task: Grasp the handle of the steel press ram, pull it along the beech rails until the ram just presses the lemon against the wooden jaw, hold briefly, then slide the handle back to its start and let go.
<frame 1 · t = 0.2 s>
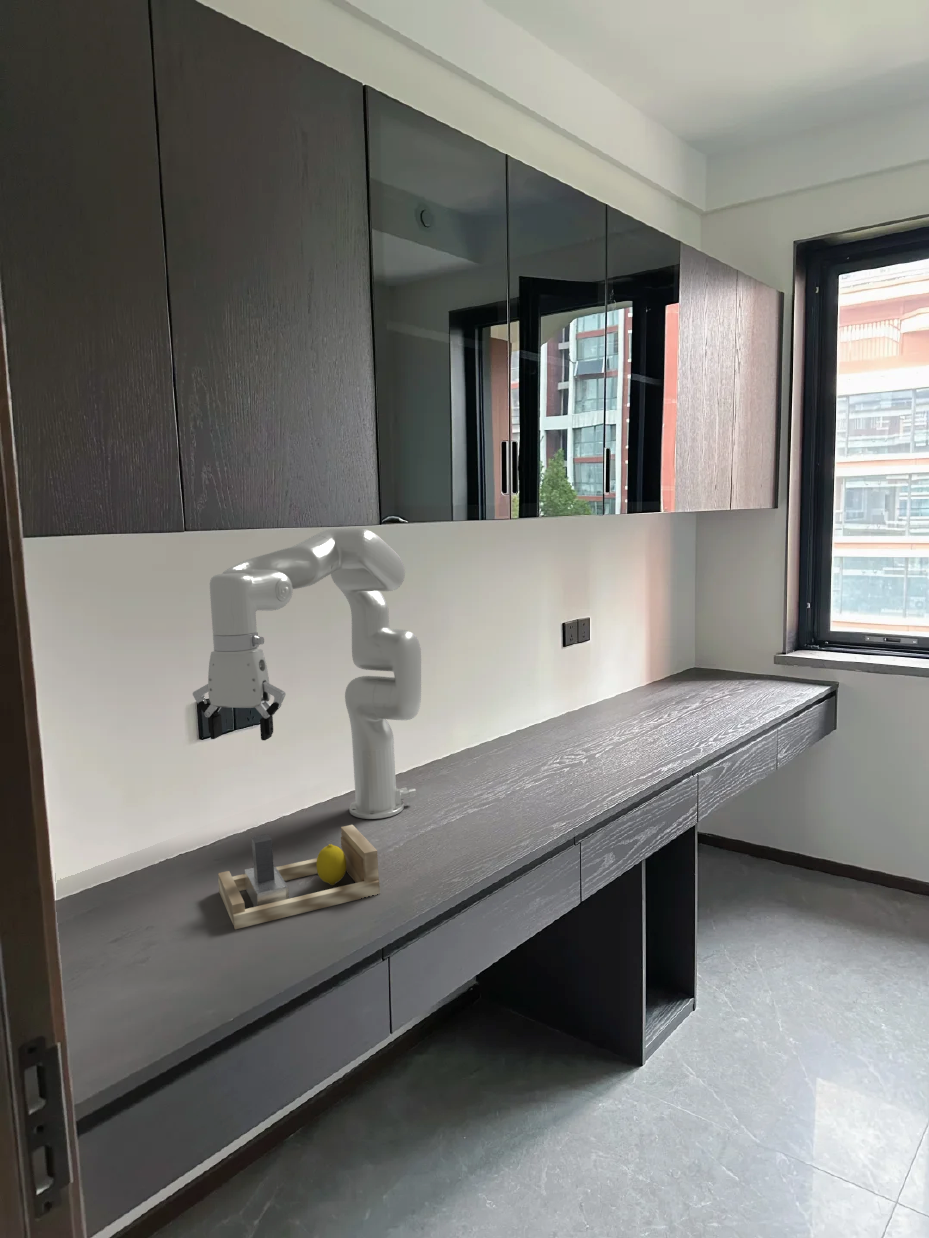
hand: (241, 737, 151), 30 cm above the table, tool pointing down, fingers open, 9 cm apart
ram: (265, 868, 152), point 6 cm above the table, slide at 0.0 cm
press frame: (298, 892, 156), on the table
lemon: (332, 885, 158), resting in press frame
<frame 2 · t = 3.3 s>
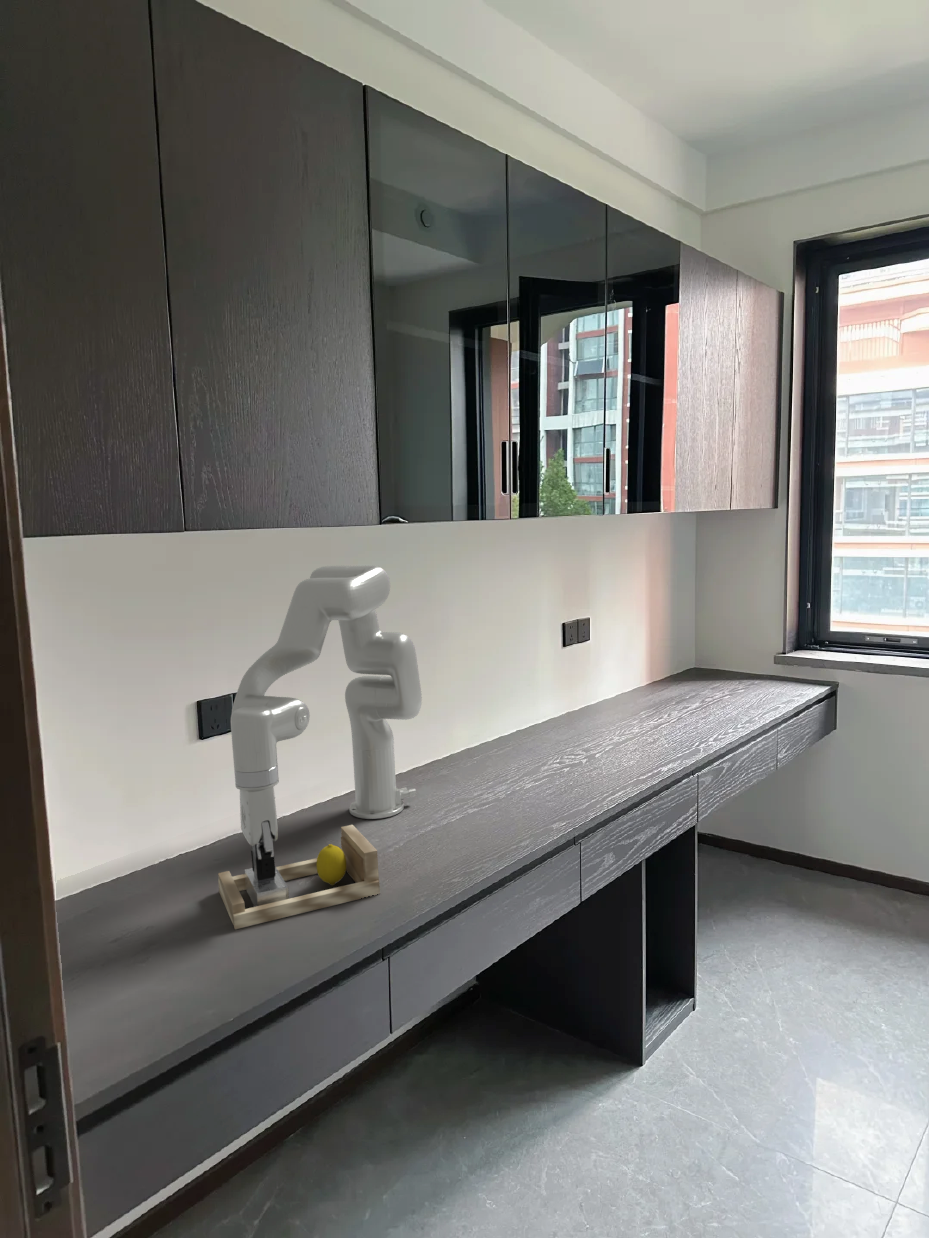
hand: (264, 873, 152), 5 cm above the table, tool pointing down, fingers closed on ram, 3 cm apart
ram: (265, 868, 152), point 6 cm above the table, slide at 0.0 cm, touching gripper
everything else where it was.
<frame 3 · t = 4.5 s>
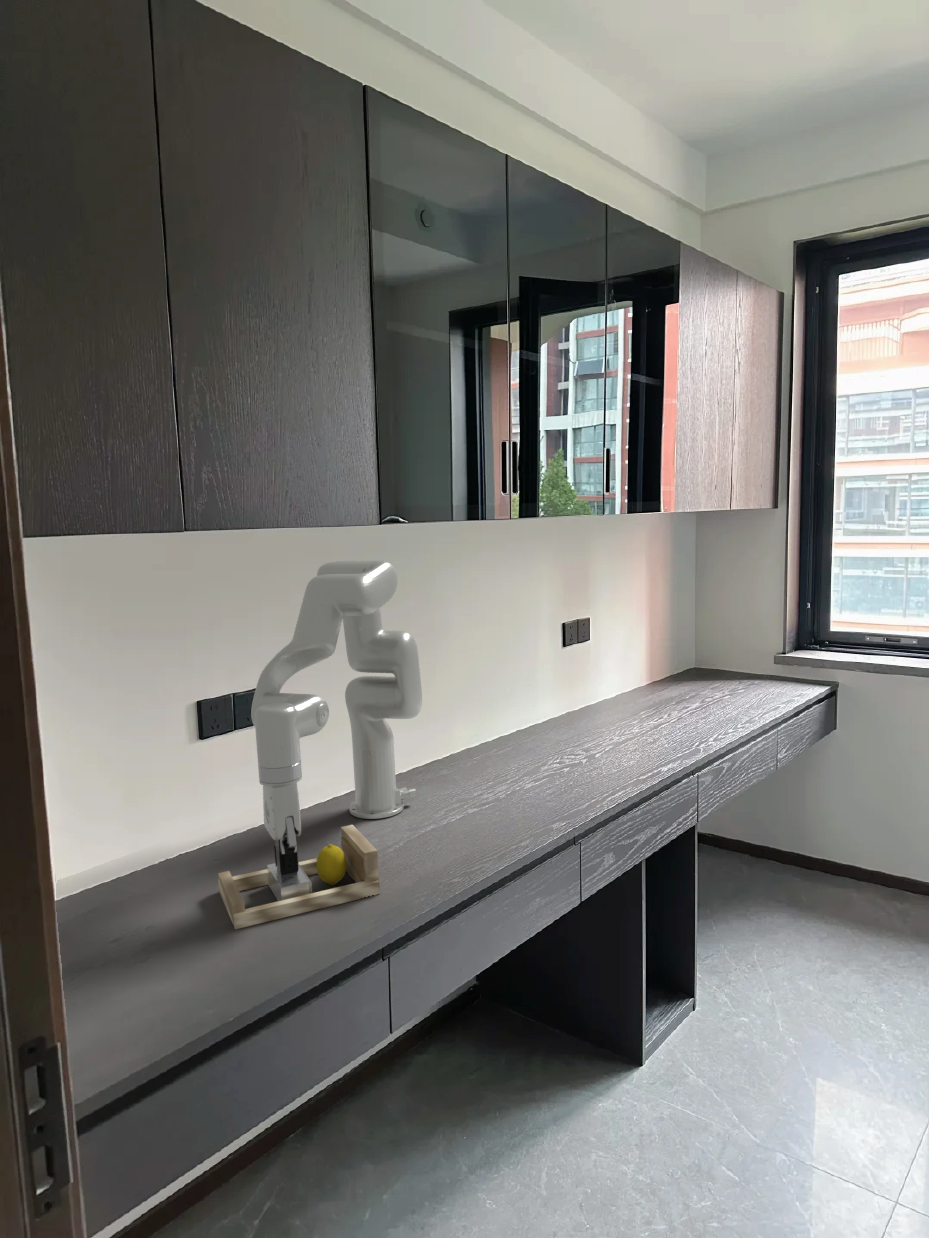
hand: (287, 868, 154), 5 cm above the table, tool pointing down, fingers closed on ram, 3 cm apart
ram: (288, 863, 154), point 6 cm above the table, slide at 4.2 cm, touching gripper
everything else where it was.
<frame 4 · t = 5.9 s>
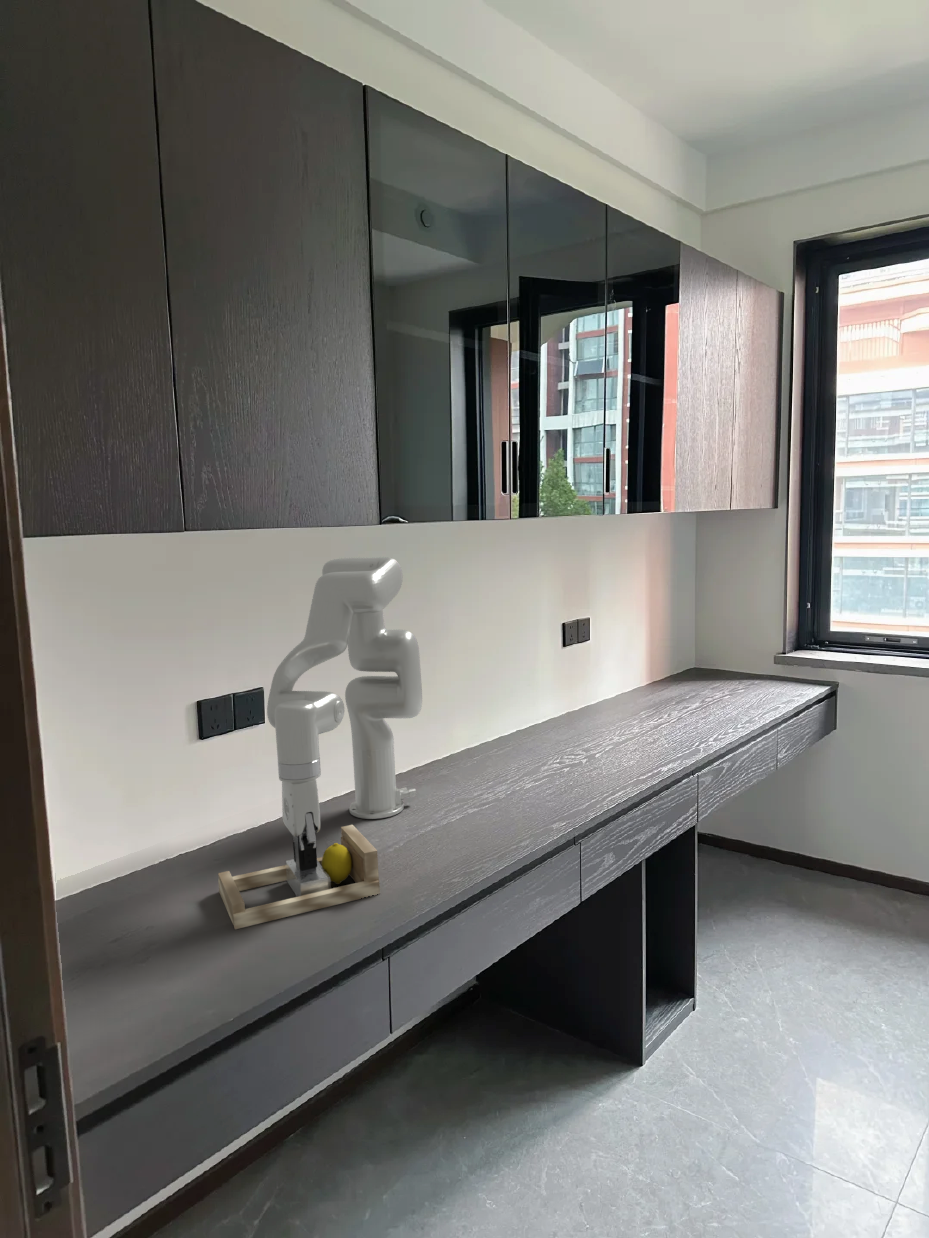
hand: (305, 863, 156), 5 cm above the table, tool pointing down, fingers closed on ram, 3 cm apart
ram: (307, 859, 156), point 6 cm above the table, slide at 7.7 cm, touching gripper, lemon
lemon: (338, 884, 159), resting in press frame, touching ram
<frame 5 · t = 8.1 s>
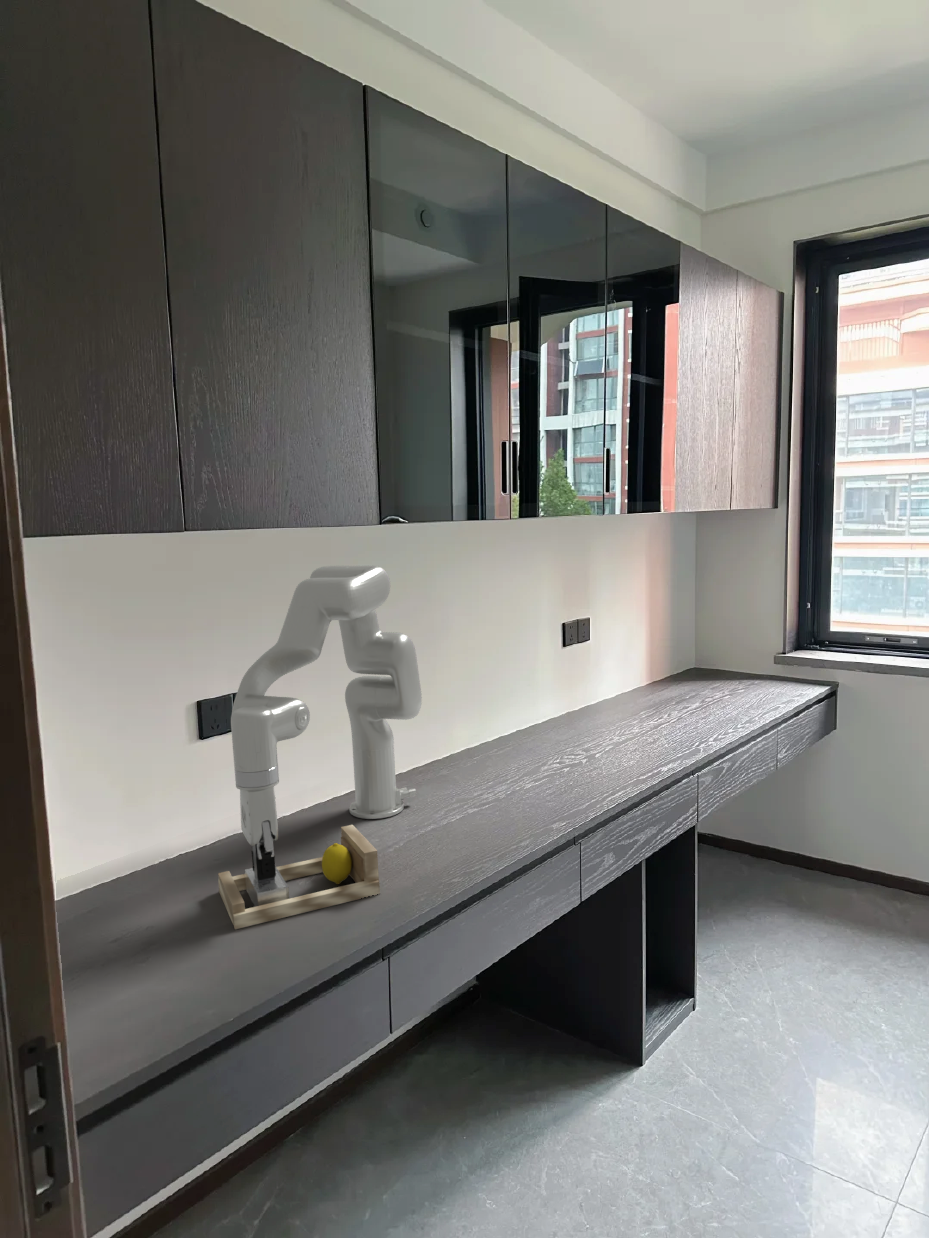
hand: (264, 873, 152), 5 cm above the table, tool pointing down, fingers closed on ram, 3 cm apart
ram: (265, 868, 152), point 6 cm above the table, slide at 0.1 cm, touching gripper
lemon: (338, 884, 159), resting in press frame
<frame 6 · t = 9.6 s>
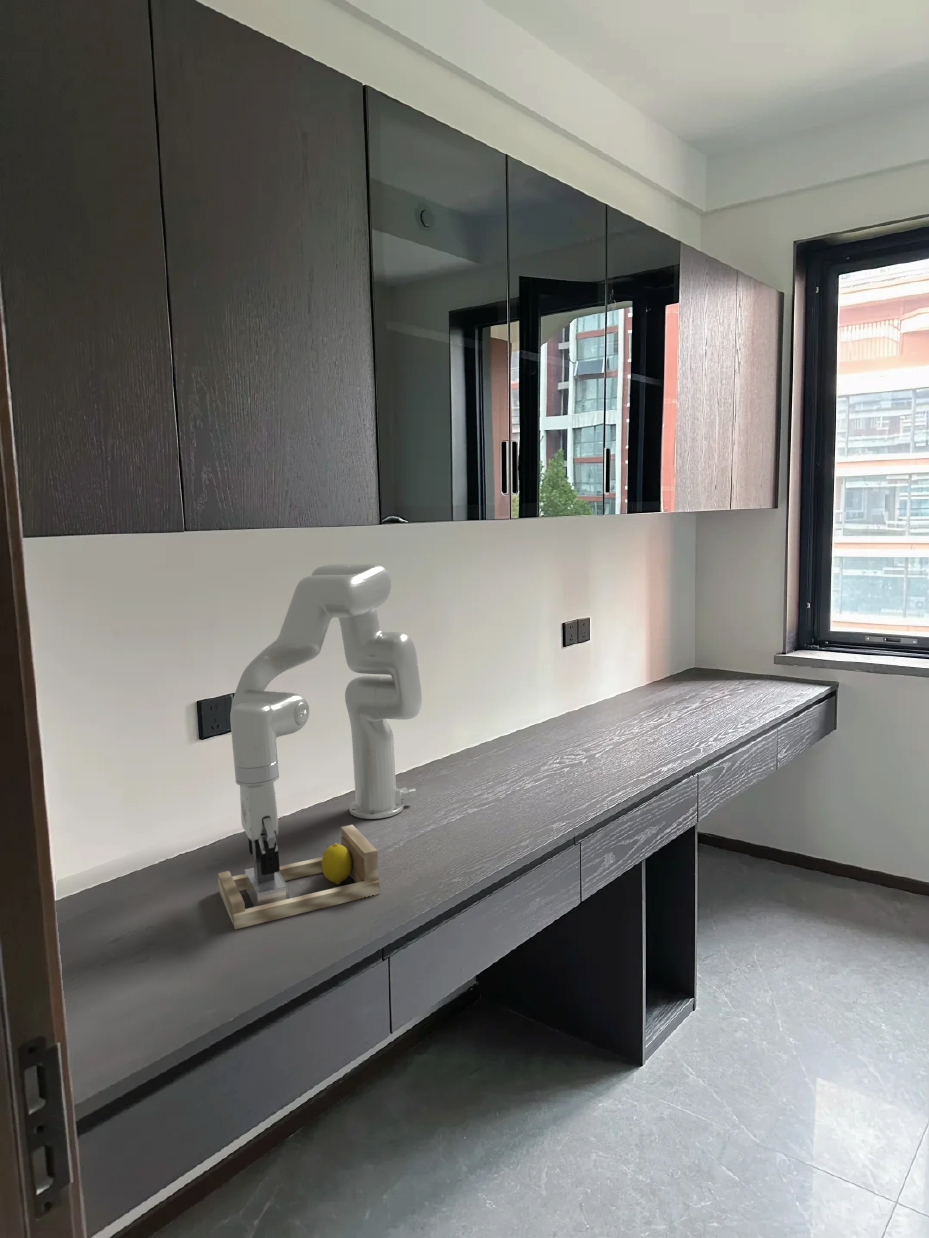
hand: (264, 862, 152), 7 cm above the table, tool pointing down, fingers open, 9 cm apart
ram: (265, 868, 152), point 6 cm above the table, slide at 0.0 cm
everything else where it was.
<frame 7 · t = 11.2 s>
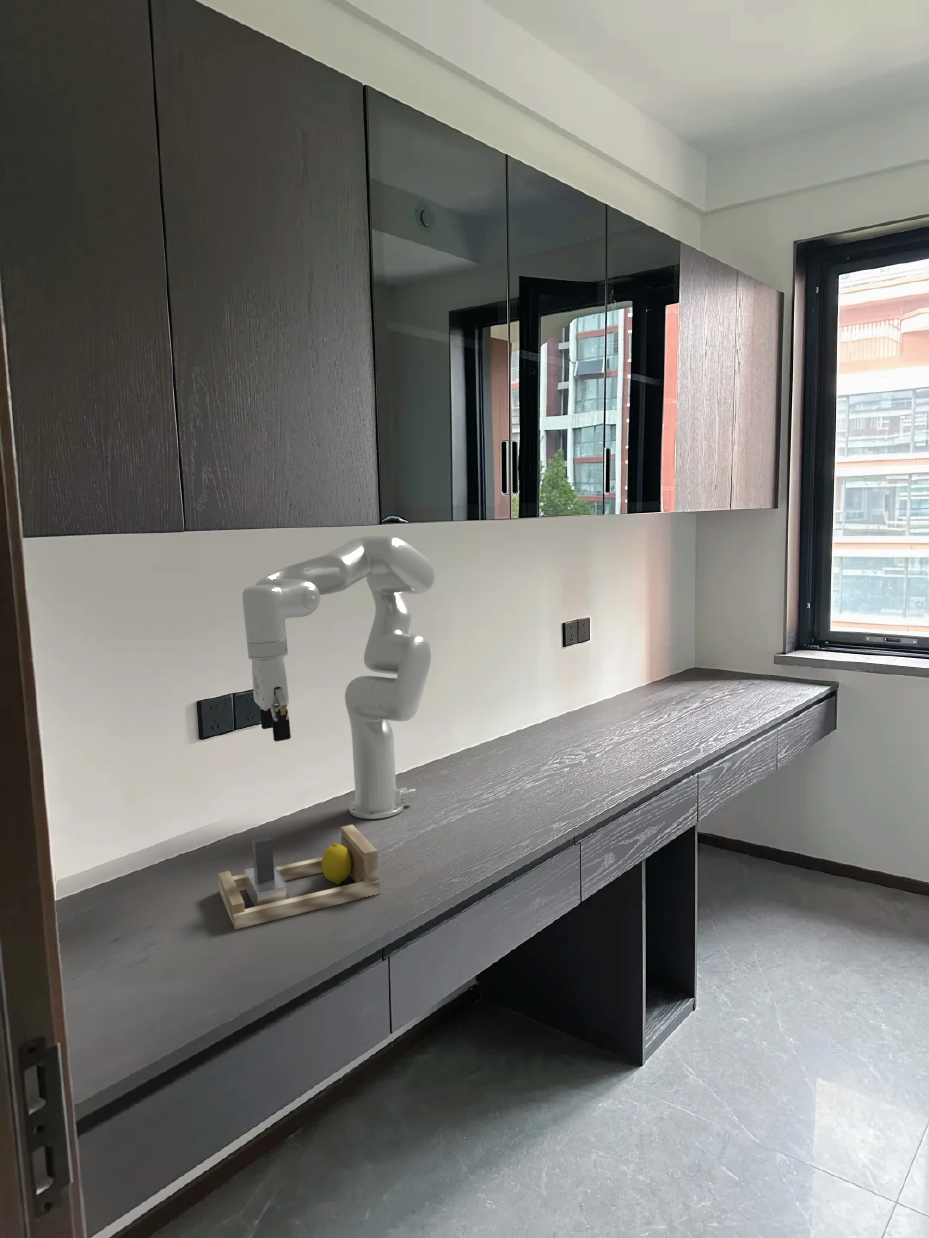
hand: (276, 733, 166), 26 cm above the table, tool pointing down, fingers open, 9 cm apart
nothing on the table moved.
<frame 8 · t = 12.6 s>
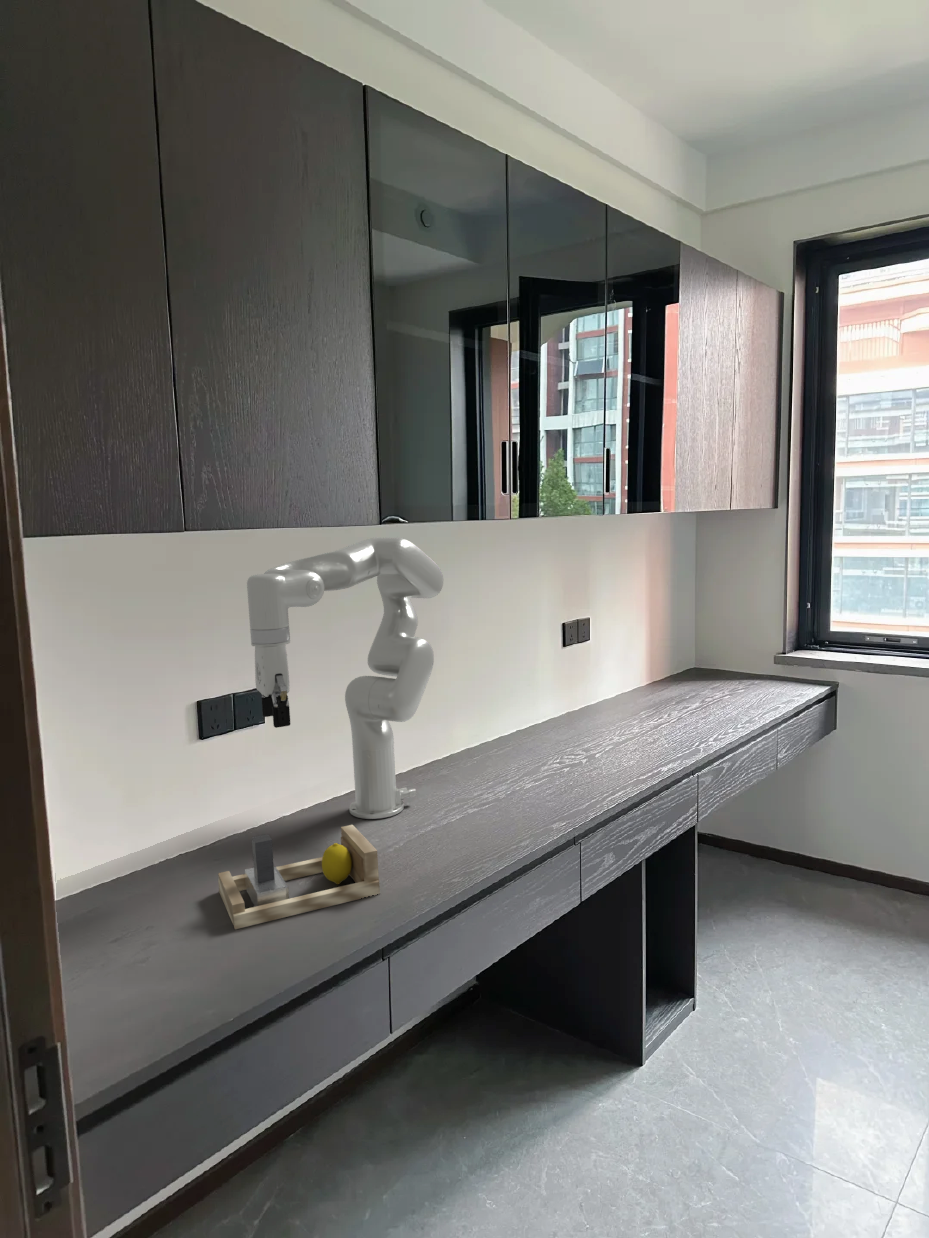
hand: (276, 720, 169), 28 cm above the table, tool pointing down, fingers open, 9 cm apart
nothing on the table moved.
at the end: ram slide at 0.0 cm; lemon inside the target area (1.5 cm from its centre), resting in press frame; the gripper is holding nothing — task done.
